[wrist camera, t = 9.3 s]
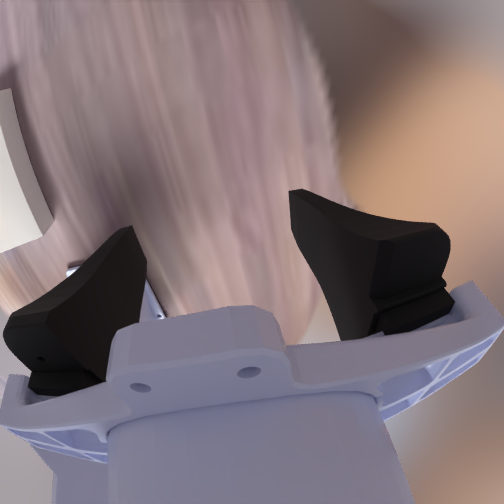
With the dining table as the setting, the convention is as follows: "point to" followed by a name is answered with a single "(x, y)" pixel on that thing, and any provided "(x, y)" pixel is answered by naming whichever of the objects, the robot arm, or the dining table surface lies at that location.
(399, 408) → the robot arm
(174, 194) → the dining table surface
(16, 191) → the socket plate
